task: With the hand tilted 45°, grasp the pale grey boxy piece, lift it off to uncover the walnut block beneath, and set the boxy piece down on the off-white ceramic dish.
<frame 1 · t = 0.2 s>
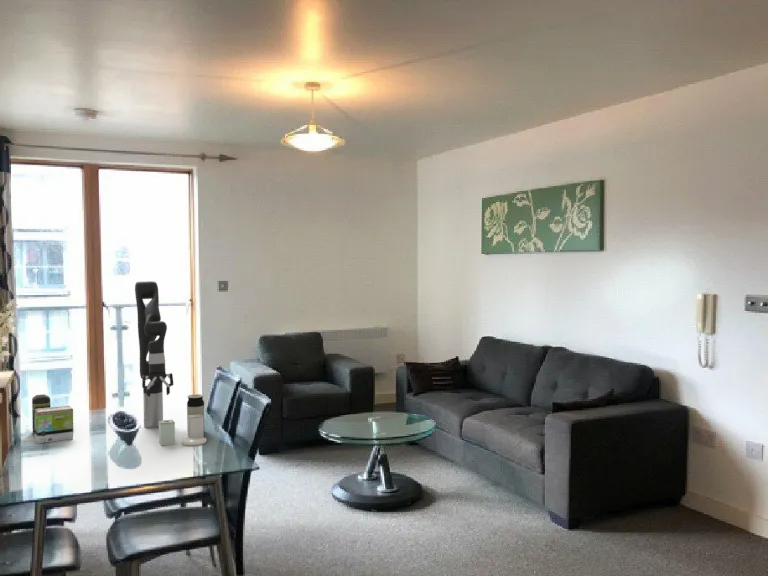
hand: (158, 395, 318), 18 cm above the table, tool pointing down, fingers open, 8 cm apart
tea box: (54, 440, 306), on the table
pale grey boxy piece: (167, 443, 297), on the table
travel mug: (196, 432, 317), on the table
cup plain: (195, 436, 309), on the table
dish: (194, 442, 298), on the table
block: (166, 439, 297), in the pale grey boxy piece
coffee jar: (41, 433, 319), on the table
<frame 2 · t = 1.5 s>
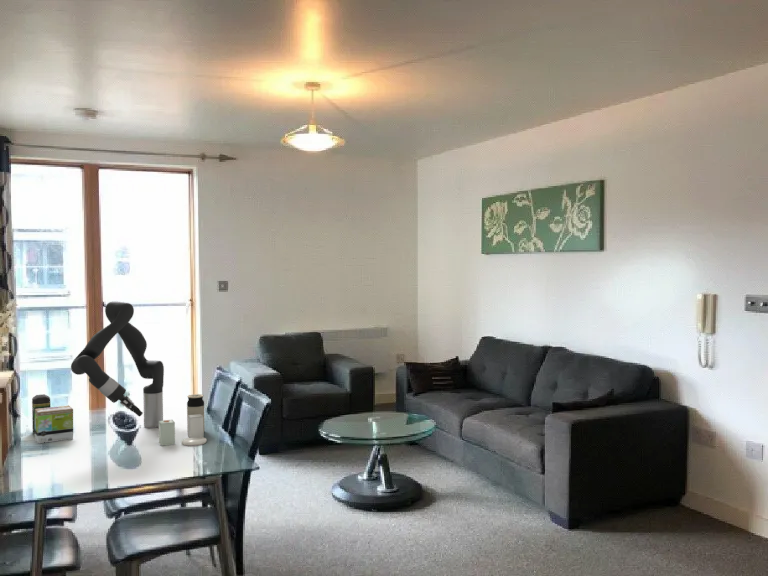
hand: (139, 413, 291), 15 cm above the table, tool tilted 45°, fingers open, 8 cm apart
nothing on the table moved.
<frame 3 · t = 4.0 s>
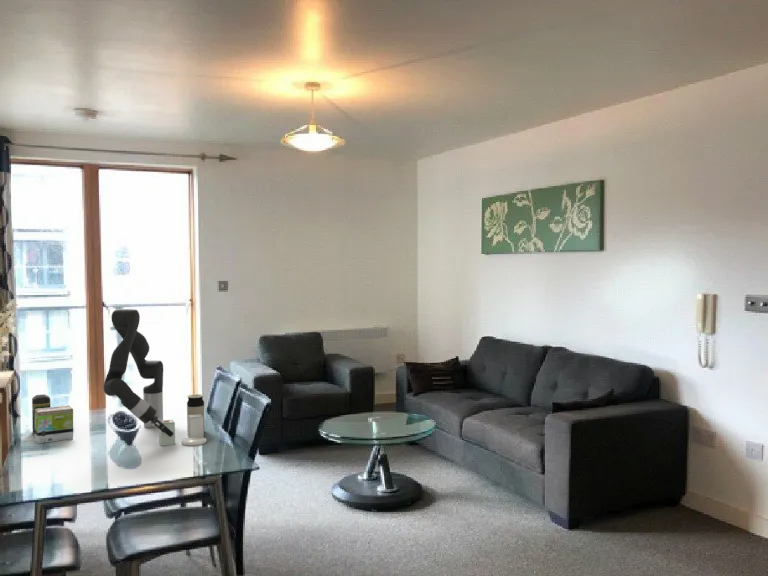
hand: (170, 433, 298), 4 cm above the table, tool tilted 45°, fingers closed on pale grey boxy piece, 6 cm apart
pale grey boxy piece: (167, 443, 297), on the table, touching gripper
everything else where it was.
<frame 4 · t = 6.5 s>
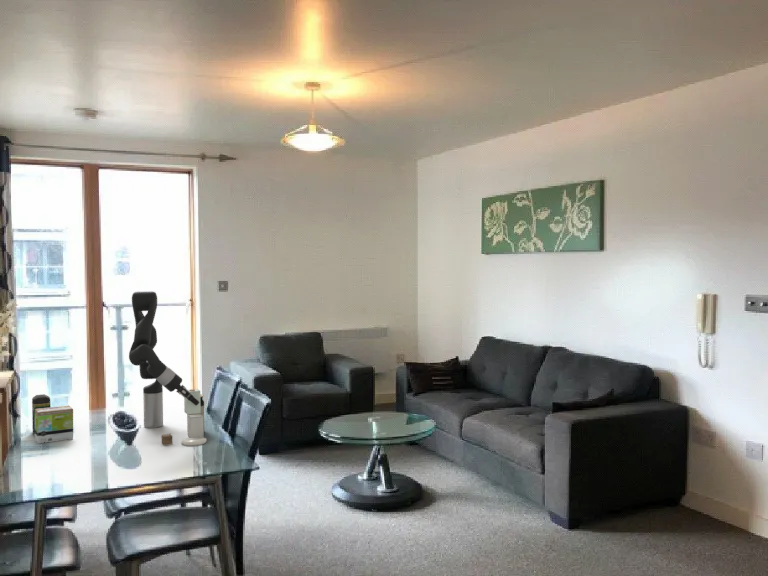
hand: (196, 402, 298), 18 cm above the table, tool tilted 45°, fingers closed on pale grey boxy piece, 6 cm apart
pale grey boxy piece: (192, 412, 297), point 14 cm above the table, touching gripper
everything else where it was.
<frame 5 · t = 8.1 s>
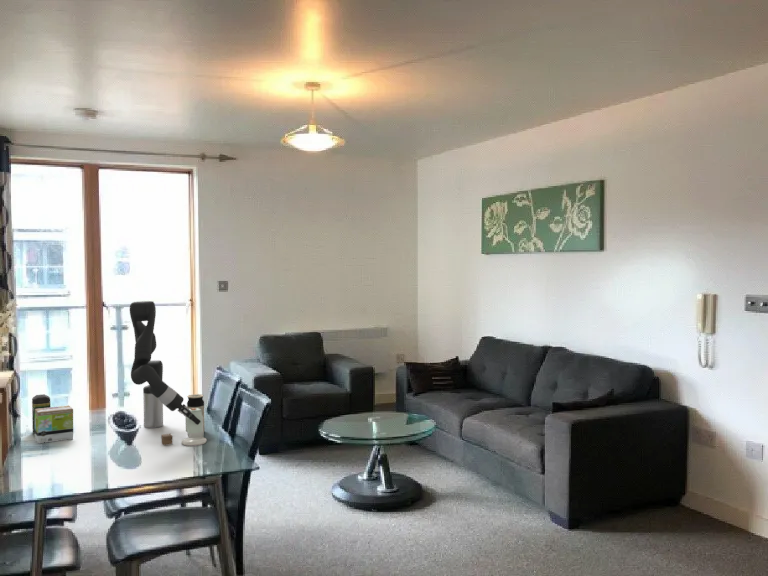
hand: (197, 421, 299), 9 cm above the table, tool tilted 45°, fingers closed on pale grey boxy piece, 6 cm apart
pale grey boxy piece: (193, 431, 298), point 5 cm above the table, touching gripper
everything else where it was.
when the fingers open (7 cm above the table, at t = 9.2 s): pale grey boxy piece drops 1 cm, resting on dish.
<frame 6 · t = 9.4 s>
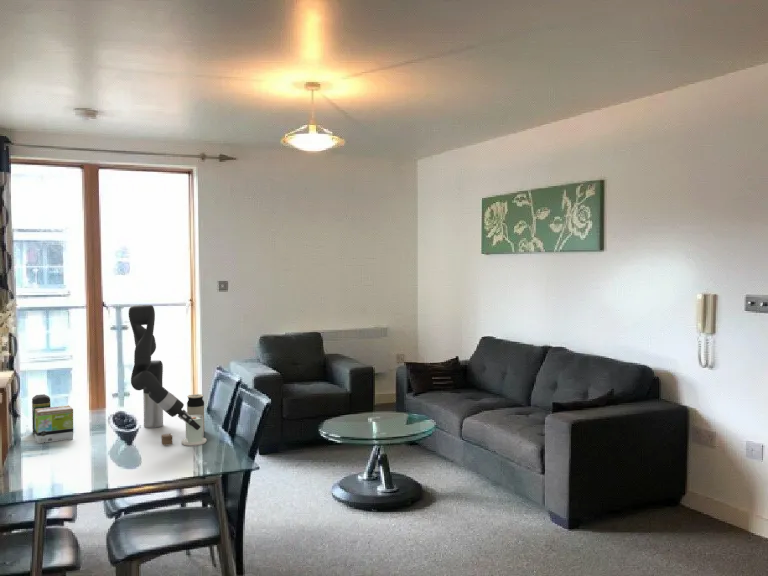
hand: (196, 426, 299), 7 cm above the table, tool tilted 45°, fingers open, 7 cm apart
pale grey boxy piece: (193, 440, 298), point 1 cm above the table, touching dish
everything else where it was.
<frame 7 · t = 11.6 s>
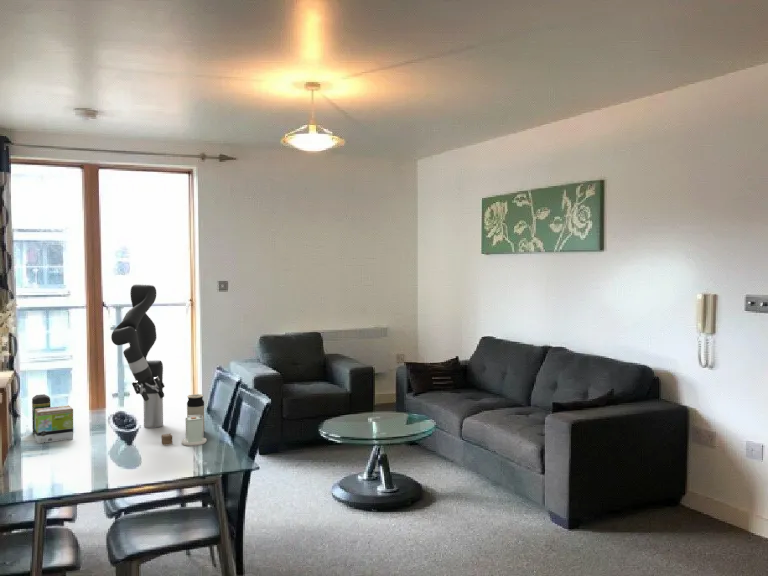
hand: (154, 398, 297), 20 cm above the table, tool tilted 25°, fingers open, 8 cm apart
nothing on the table moved.
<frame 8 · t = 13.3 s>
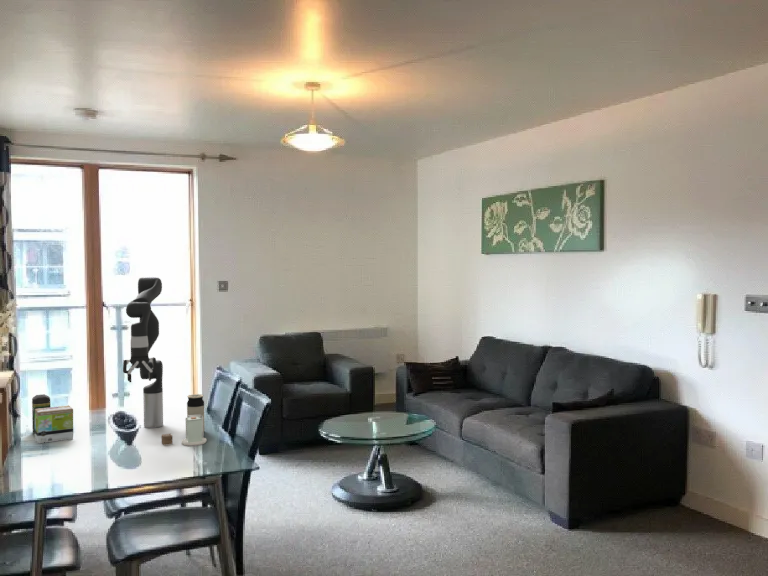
hand: (140, 381, 299), 28 cm above the table, tool pointing down, fingers open, 8 cm apart
nothing on the table moved.
at the end: pale grey boxy piece 0.2 cm from the dish (horizontally); pale grey boxy piece tilted 0°; pale grey boxy piece point 1.2 cm above the table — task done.
